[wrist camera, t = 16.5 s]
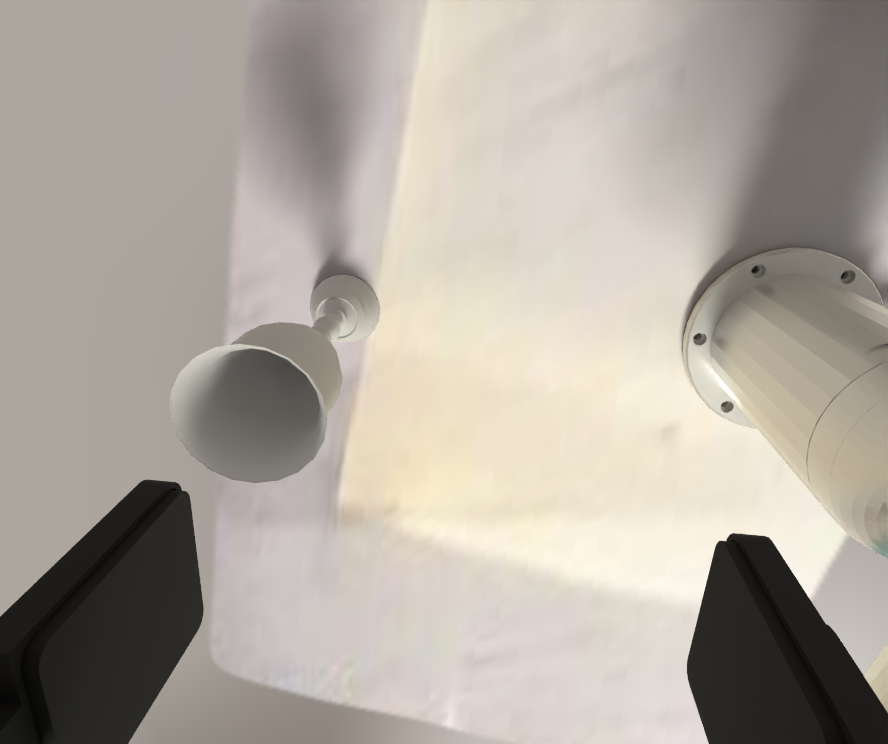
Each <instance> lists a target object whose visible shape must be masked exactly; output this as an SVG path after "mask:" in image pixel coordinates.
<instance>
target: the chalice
mask: <svg viewBox="0 0 888 744" xmlns="http://www.w3.org/2000/svg"><path fill="white" fill-rule="evenodd" d="M310 310H311V314H312V319H313V321H314V325H313V327H312V328H311V327H309V326H306V325H302V324H295V323H273V324H266V325H261V326H258V327H256V328H254V329H252V330H250V331H248V332H246V333H245V334H243V335H242V336H241V337H240V338H238V339H237V340H236V341H234V342H233V343H232V344H231V345H228V346H221V347H215V348H213V349H211V350H209V351H207V352H205V353H203V354H201V355H199V356H197V357H195V358H193V360H192V361H191V362H190V363H189V364H188V365H187V366H186V367H185V368H184V369H183V370H182V371H181V372H180V373H179V375H178V377H177V380H176V382H175V384H174V386H173V389H172V391H171V401H170V416H171V419H172V422H173V425H174V428H175V431H176V434H177V437H178V438H179V439H180V441H181V442H182V443H183V445H184V446H185V447H186V449H187V450H188V452H189V453H190V454H191V456H193V457H194V458H195V459H197V460H198V461H199V462H200V463H202V464H203V465H204V466H206V467H207V468H208V469H210V470H211V471H213V472H216V473H218V474H221V475H223V476H225V477H228V478H230V479H232V480H239V481H246V482H253V483H259V482H268V481H277V480H280V479H283V478H285V477H287V476H290V475H292V474H295V473H297V472H299V471H300V470H301V469H302V468H303V467H305V466H306V465H307V464H308V463H309V462H310V461H311V460H313V459H314V458H315V456H316V454H317V452H318V450H319V449H320V447H321V445H322V443H323V441H324V439H325V431H326V424H327V416H328V414H329V413H330V411H331V409H332V408H333V406H334V404H335V402H336V400H337V399H338V397H339V395H340V390H341V383H342V374H341V370H340V365H339V360H338V356H337V352H336V350H335V349H334V347H333V345H332V344H331V342H332V341H339V342H345V343H350V342H357V341H359V340H362V339H364V338H366V337H367V336H368V335H369V334H370V333H371V332H372V331H373V330H374V329H375V327H376V325H377V323H378V321H379V314H380V307H379V303H378V299H377V297H376V295H375V293H374V291H373V290H372V289H371V288H370V287H369V286H368V285H367V284H366V283H365V282H364V281H362V280H360V279H358V278H356V277H354V276H350V275H344V274H341V275H335V276H331V277H329V278H327V279H325V280H323V281H322V282H321V283H320V284H319V285H318V286H317V287H316V288H315V290H314V292H313V294H312V297H311V303H310Z"/></svg>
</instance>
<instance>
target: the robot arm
mask: <svg viewBox="0 0 888 744" xmlns="http://www.w3.org/2000/svg"><path fill="white" fill-rule="evenodd" d="M755 266H757V270H756V271H755V272H751V271H752V269H753V267H755ZM844 272H845V274H844V276H843V277H841V275H842V273H844ZM697 333H700V335H699V337H698V338H694V336H695V335H696V334H697ZM683 359H684V365H685V370H686V373H687V375H688V378H689V380H690V382H691V385H692V386H693V388H694V389H695V391H696V392H697V394H698V395H699V397H700V398H701V399H702V400H703V401H704V402H705V403H706V405H707V406H708V407H709V408H710V409H712V410H713V411H714V412H716V413H717V414H718V415H720V416H721V417H723V418H725V419H727V420H729V421H731V422H734V423H736V424H739V425H742V426H746V427H750V428H756V429H758V430H759V431H760V432H761V434H762V435H763V436H764V437H765V438H766V440H767V441H768V442H769V443H770V444H771V445H772V447H773V448H774V449H775V450H776V451H777V453H778V454H779V455H780V456H781V457H782V459H783V460H784V461H785V462H786V463H787V464H788V466H789V467H790V468H791V469H792V470H793V472H794V473H795V474H796V475H797V476H798V477H799V479H800V480H801V481H802V482H803V483H804V485H805V486H806V487H807V488H808V489H809V491H810V492H811V493H812V494H813V495H814V496H815V498H816V499H817V500H818V501H819V502H820V504H821V505H822V506H823V507H824V508H825V510H826V511H827V512H828V513H829V514H830V515H831V517H832V518H833V519H834V520H835V521H836V522H837V523H838V524H839V525H840V526H841V527H842V528H843V529H844V530H845V531H846V532H847V533H848V534H849V535H850V536H851V537H853V538H854V539H855V540H857V541H858V542H860V543H861V544H862V545H864V546H865V547H867V548H869V549H870V550H872V551H875V552H876V553H879V554H881V555H883V556H885V557H887V558H888V308H886V307H884V304H883V301H882V297H881V295H880V293H879V292H878V290H877V288H876V287H875V285H874V283H873V281H872V280H871V279H870V278H869V277H868V276H867V275H866V274H865V273H864V272H863V271H862V270H861V269H860V268H858V267H857V266H855V265H854V264H852V263H850V262H849V261H847V260H846V259H844V258H841V257H839V256H836V255H834V254H831V253H828V252H824V251H820V250H816V249H811V248H795V247H793V248H784V249H776V250H771V251H768V252H765V253H761V254H758V255H755V256H752V257H750V258H748V259H746V260H744V261H742V262H740V263H738V264H736V265H735V266H733V267H732V268H730V269H729V270H728V271H726V272H725V273H723V274H722V275H721V276H719V277H718V278H717V279H716V280H715V281H714V282H713V283H712V284H711V285H710V286H709V287H708V288H707V289H706V291H705V292H704V293H703V295H702V296H701V298H700V299H699V301H698V302H697V303H696V305H695V307H694V309H693V311H692V313H691V315H690V318H689V320H688V322H687V326H686V330H685V334H684V338H683ZM724 402H726V403H725V404H723V405H721V404H722V403H724ZM202 617H203V600H202V592H201V584H200V576H199V568H198V560H197V552H196V543H195V536H194V527H193V519H192V510H191V502H190V497H189V494H188V493H187V492H186V491H182V490H181V487H180V485H179V484H178V483H176V482H167V481H166V482H165V481H156V480H144V481H142V482H140V483H139V484H138V485H137V486H136V487H135V488H134V489H133V490H132V491H131V492H130V493H129V494H128V495H127V496H126V497H125V498H124V499H123V500H121V501H120V502H119V503H118V504H117V505H116V506H115V507H114V508H113V509H112V510H111V511H110V512H109V513H108V514H107V515H106V516H105V517H104V518H103V519H102V520H101V521H100V522H98V524H96V525H95V526H94V527H93V528H92V529H91V530H90V531H89V532H88V533H87V534H86V535H85V536H84V537H83V538H82V539H81V540H80V541H79V542H78V543H77V544H76V545H75V546H73V547H72V548H71V549H70V550H69V551H68V552H67V553H66V554H65V555H64V556H63V557H62V558H61V559H60V560H59V561H58V562H57V563H56V564H55V565H54V566H53V567H52V568H51V569H50V570H49V571H47V572H46V573H45V574H44V575H43V576H42V577H41V578H40V579H39V580H38V581H37V582H36V583H35V584H34V585H33V586H32V587H31V588H30V589H29V590H28V591H27V592H26V593H24V595H22V596H21V597H20V598H19V599H18V600H17V601H16V602H15V603H14V604H13V605H12V606H11V607H10V608H9V609H8V610H7V611H6V612H5V613H4V614H3V615H2V616H1V617H0V744H128V743H129V741H130V739H131V738H132V736H133V735H134V733H135V731H136V730H137V728H138V726H139V725H140V723H141V721H142V720H143V718H144V717H145V715H146V713H147V712H148V710H149V709H150V707H151V705H152V704H153V702H154V701H155V699H156V697H157V696H158V694H159V692H160V691H161V689H162V688H163V686H164V684H165V683H166V681H167V679H168V678H169V676H170V675H171V673H172V671H173V670H174V668H175V667H176V665H177V663H178V662H179V660H180V658H181V657H182V655H183V654H184V652H185V650H186V649H187V647H188V646H189V644H190V642H191V641H192V639H193V637H194V635H195V634H196V633H197V631H198V629H199V627H200V624H201V622H202ZM687 675H688V681H689V685H690V688H691V691H692V694H693V697H694V700H695V703H696V706H697V709H698V712H699V715H700V718H701V721H702V724H703V727H704V730H705V733H706V736H707V739H708V742H709V744H888V642H887V644H886V645H885V646H884V648H883V649H882V650H881V652H880V653H879V654H878V655H877V657H876V658H875V659H874V661H873V662H872V663H871V665H870V666H869V667H868V669H867V670H866V671H865V673H864V674H862V673H861V671H860V670H859V668H858V666H857V665H856V663H855V662H854V660H853V659H852V657H851V656H850V654H849V653H848V651H847V650H846V648H845V647H844V645H843V644H842V642H841V641H840V639H839V638H838V636H837V634H836V633H835V632H834V631H833V630H832V629H831V628H830V626H828V625H826V624H825V622H824V621H823V619H822V618H821V616H820V615H819V613H818V611H817V610H816V608H815V607H814V605H813V604H812V602H811V601H810V599H809V597H808V596H807V594H806V593H805V591H804V590H803V588H802V587H801V585H800V584H799V582H798V580H797V579H796V577H795V576H794V574H793V573H792V571H791V570H790V568H789V567H788V565H787V564H786V562H785V560H784V559H783V557H782V556H781V554H780V553H779V551H778V550H777V548H776V547H775V545H774V543H773V542H772V541H771V540H770V538H769V537H766V536H757V535H746V534H735V533H733V534H730V535H729V537H728V538H727V541H719V542H718V543H717V545H716V547H715V551H714V555H713V559H712V563H711V567H710V571H709V575H708V579H707V583H706V587H705V591H704V595H703V599H702V603H701V607H700V612H699V616H698V620H697V624H696V628H695V632H694V636H693V640H692V644H691V648H690V652H689V656H688V661H687Z"/></svg>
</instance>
